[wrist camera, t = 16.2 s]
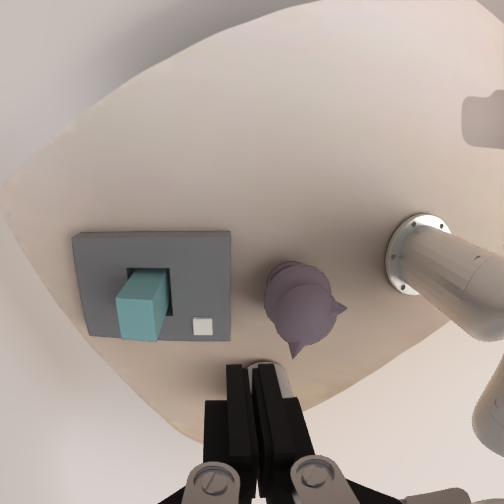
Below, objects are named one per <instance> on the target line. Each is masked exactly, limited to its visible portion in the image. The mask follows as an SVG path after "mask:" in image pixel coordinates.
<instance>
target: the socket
mask: <svg viewBox="0 0 504 504" xmlns="http://www.w3.org/2000/svg"><path fill="white" fill-rule="evenodd" d="M72 246H73V253H74V261H75V267H76V274H77V280H78V286H79V291H80V296H81V301H82V306H83V311H84V316H85V320H86V325H87V329H88V333H89V336H99V337H111V338H122V337H121V332H120V326H119V319H118V313H117V306H116V299H115V298H116V297H117V295H118V294H119V292H120V291H121V289H122V288H123V287H124V285H125V284H126V282H127V281H128V280H129V278H130V277H131V275H132V274H133V273H134V269H133V268H170V283H171V296H172V306H170V305H169V306H168V309H167V312H166V315H165V318H164V321H163V324H162V327H161V330H160V333H159V336H158V339H157V340H166V341H230V262H231V235H230V231H143V232H81V233H80V234H78V235H76V236H75V237H73V238H72Z"/></svg>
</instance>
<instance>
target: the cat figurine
mask: <svg viewBox="0 0 504 504" xmlns="http://www.w3.org/2000/svg"><path fill="white" fill-rule="evenodd" d="M264 308H265V311H266V313H267V316H268V318H269V319H270V320H271V321H272V322H273V323H274V324H275V327H276V330H277V332H278V334H279V335H280V336H281V337H282V338H283V339H284V340H285V341H286V342H288V344H289V348H290V352H291V355H292V359H294V357H295V356H296V355H297V354H298V353H299V352H300V351H301V350H302V348H303V347H304V346H306V345H312V344H314V343H316V342H319V341H320V340H322V339H323V338H324V337H326V336H327V334H328V333H329V332H330V331H331V330H332V328H333V326H334V324H335V322H336V317H337V315H338V314H340V313H341V312H343V311H344V310H346V309H347V307H345V306H343V305H342V304H340V303H338V302H337V301H335V299H334V297H333V296H332V295H331V288H330V283H329V281H328V279H327V278H326V276H325V275H324V273H323V272H321V271H320V270H318V269H317V268H315V267H313V266H308V265H303V264H301V263H298V262H285V263H283V264H280V265H278V266H277V267H276V268H274V269H273V270H272V272H271V273H270V275H269V277H268V280H267V290H266V292H265V295H264Z"/></svg>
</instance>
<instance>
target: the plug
mask: <svg viewBox="0 0 504 504" xmlns="http://www.w3.org/2000/svg"><path fill="white" fill-rule="evenodd" d="M115 299H116V306H117V313H118V319H119V326H120V332H121V337H122V339H125V340H137V341H151V342H157V339H158V336H159V333H160V330H161V327H162V324H163V321H164V318H165V315H166V312H167V309H168V306H169V303H170V289H169V269H168V268H137V269H136V270H135V271H134V273H133V274H132V275H131V277H130V278H129V280H128V281H127V282H126V284H125V285H124V287H123V288H122V289H121V291H120V292H119V294H118V295H117V297H116V298H115Z"/></svg>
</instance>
